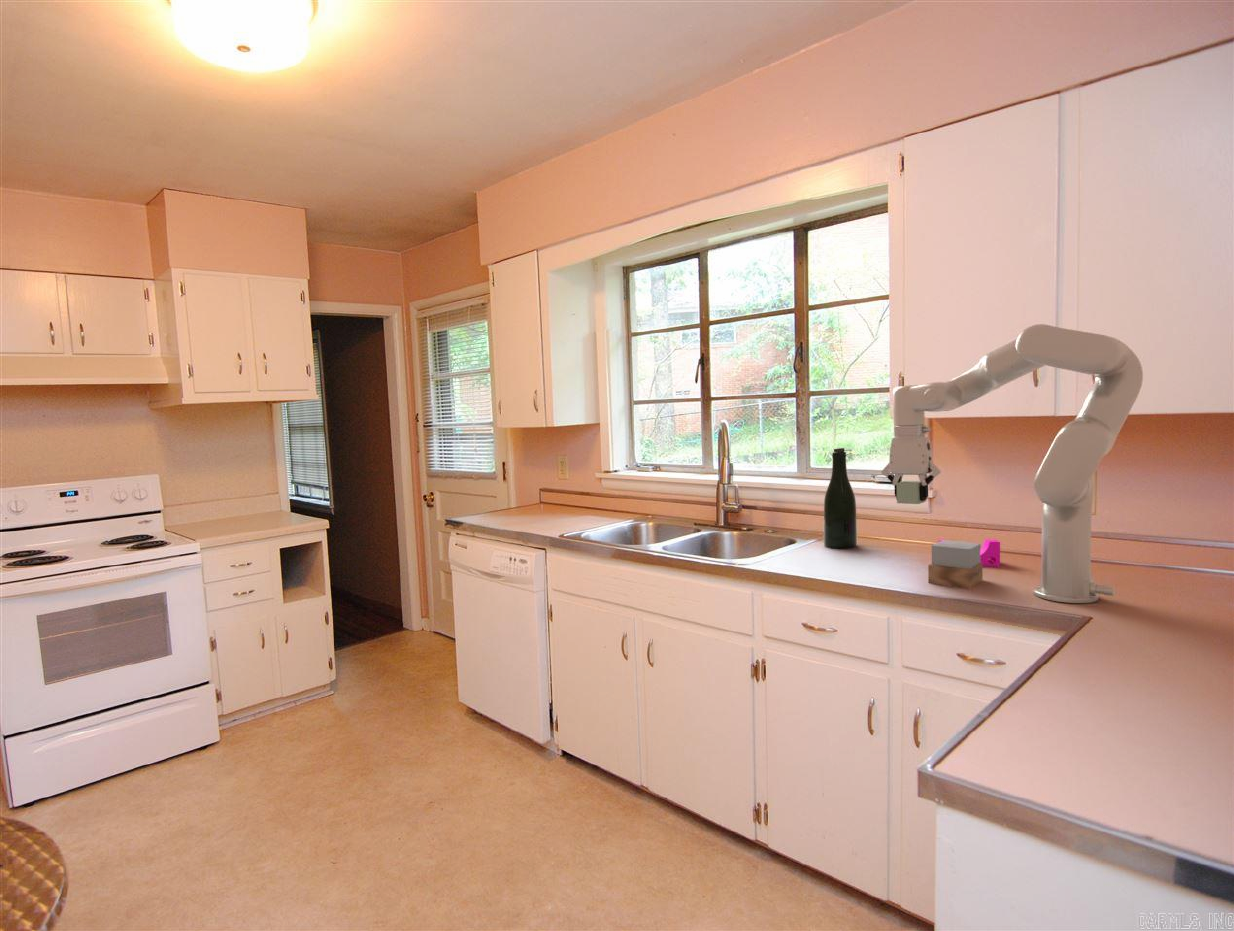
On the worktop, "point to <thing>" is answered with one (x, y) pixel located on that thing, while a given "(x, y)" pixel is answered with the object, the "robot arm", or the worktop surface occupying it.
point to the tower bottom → (955, 575)
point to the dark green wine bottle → (840, 507)
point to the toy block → (989, 552)
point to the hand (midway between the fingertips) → (911, 499)
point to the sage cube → (909, 492)
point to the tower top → (956, 554)
